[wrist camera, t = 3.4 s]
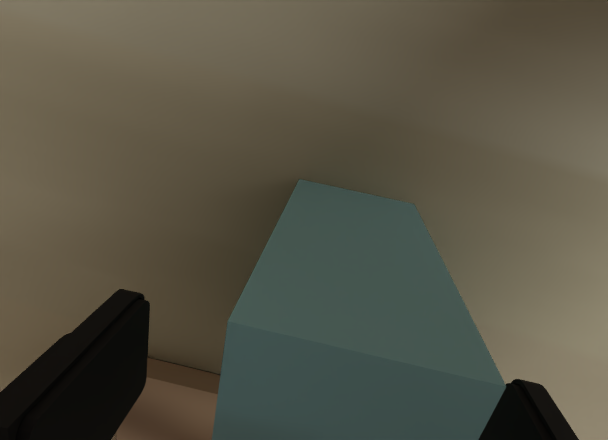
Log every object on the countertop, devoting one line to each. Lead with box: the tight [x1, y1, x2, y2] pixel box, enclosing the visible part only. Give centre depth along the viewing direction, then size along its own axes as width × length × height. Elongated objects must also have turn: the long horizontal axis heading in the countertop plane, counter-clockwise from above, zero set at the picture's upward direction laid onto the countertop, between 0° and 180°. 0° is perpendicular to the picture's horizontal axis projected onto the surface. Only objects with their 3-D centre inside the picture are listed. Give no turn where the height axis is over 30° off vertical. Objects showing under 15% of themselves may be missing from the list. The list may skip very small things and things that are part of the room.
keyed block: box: [212, 179, 506, 440], centre depth 10 cm, size 7×4×8 cm, turn 169°
